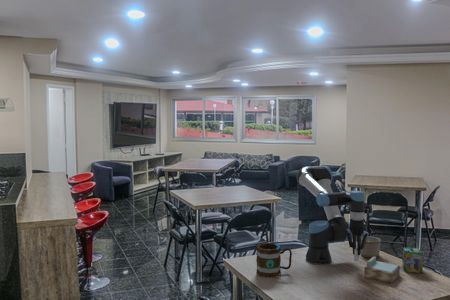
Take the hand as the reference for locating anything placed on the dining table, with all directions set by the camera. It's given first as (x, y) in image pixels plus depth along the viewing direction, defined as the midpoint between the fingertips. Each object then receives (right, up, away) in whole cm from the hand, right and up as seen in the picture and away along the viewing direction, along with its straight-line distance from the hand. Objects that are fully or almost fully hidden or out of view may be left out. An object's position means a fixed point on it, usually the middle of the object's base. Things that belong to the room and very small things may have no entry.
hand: (356, 260), depth 216 cm
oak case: (+11, -6, -8) cm, 15 cm away
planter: (+17, -4, +25) cm, 31 cm away
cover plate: (+11, -2, -9) cm, 14 cm away
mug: (-47, -7, -2) cm, 47 cm away
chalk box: (+31, -6, +1) cm, 32 cm away
